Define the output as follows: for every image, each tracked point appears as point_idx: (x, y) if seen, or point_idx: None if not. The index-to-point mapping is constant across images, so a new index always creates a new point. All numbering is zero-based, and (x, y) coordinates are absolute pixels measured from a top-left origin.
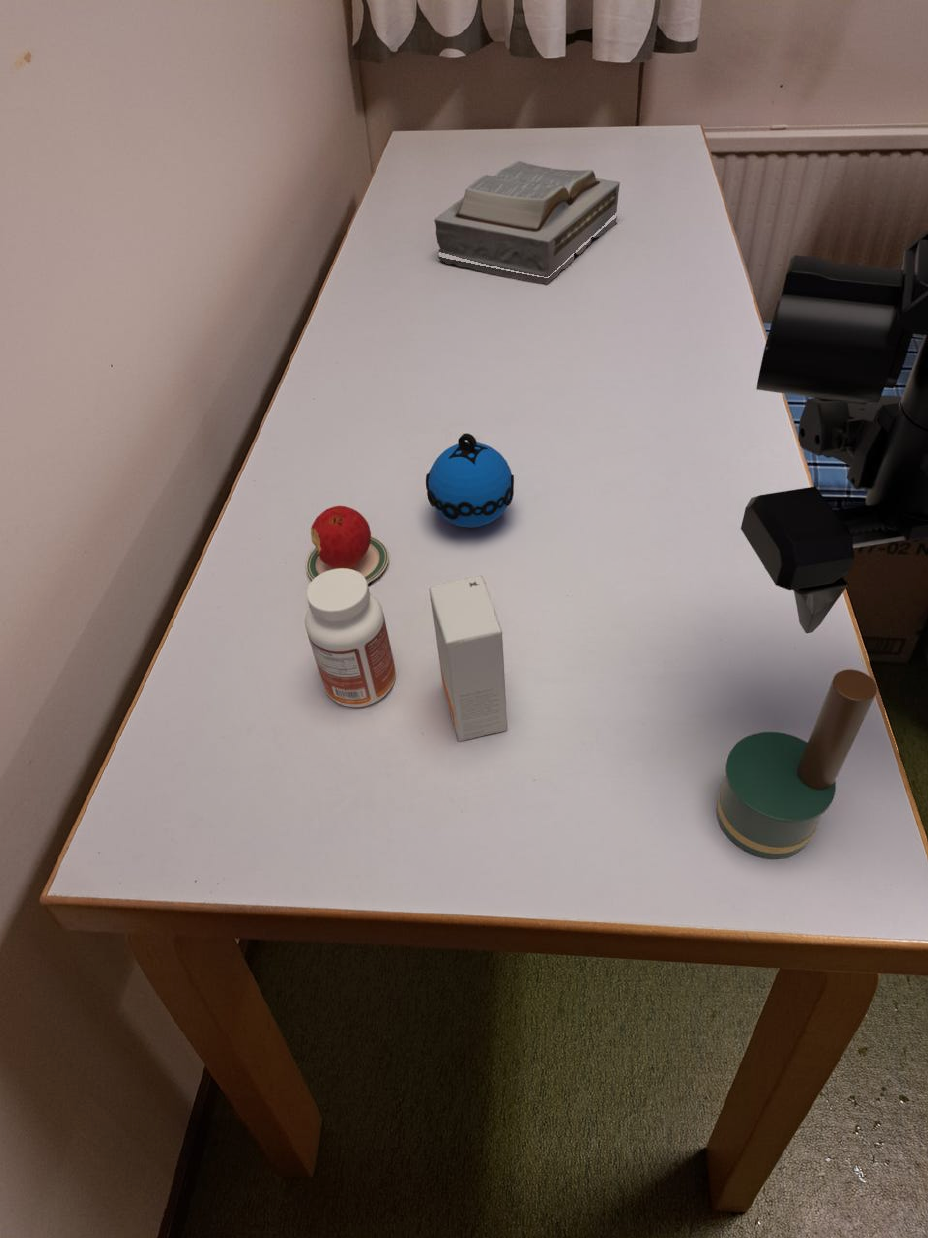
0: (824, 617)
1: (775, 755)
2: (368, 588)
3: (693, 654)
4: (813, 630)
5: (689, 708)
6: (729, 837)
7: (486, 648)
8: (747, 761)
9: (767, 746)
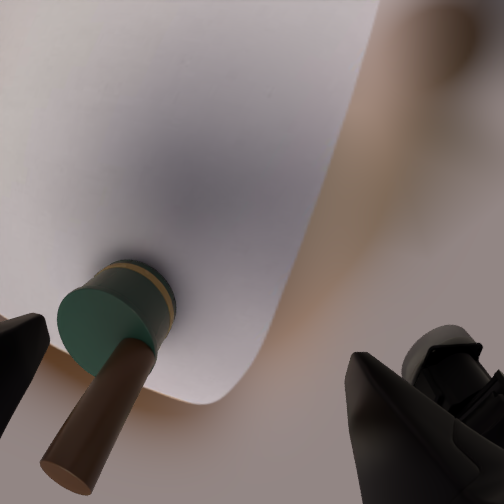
0: (15, 407)
1: (102, 321)
2: None
3: (140, 79)
4: (43, 354)
5: (106, 158)
6: None
7: None
8: (75, 317)
9: (96, 309)
